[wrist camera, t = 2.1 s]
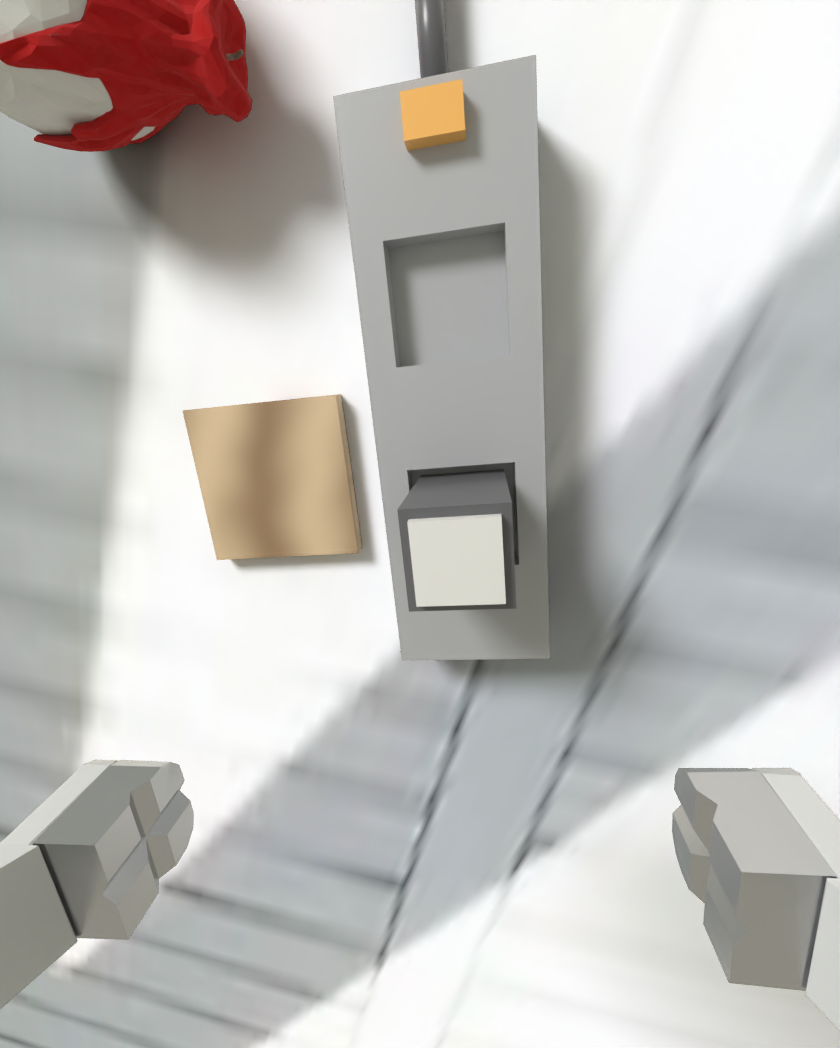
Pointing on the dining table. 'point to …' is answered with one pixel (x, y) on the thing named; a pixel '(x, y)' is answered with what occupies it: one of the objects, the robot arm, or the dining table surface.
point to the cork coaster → (276, 478)
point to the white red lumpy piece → (118, 67)
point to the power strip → (453, 312)
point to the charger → (458, 542)
